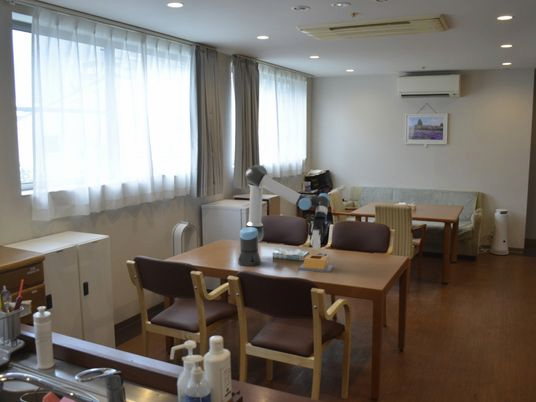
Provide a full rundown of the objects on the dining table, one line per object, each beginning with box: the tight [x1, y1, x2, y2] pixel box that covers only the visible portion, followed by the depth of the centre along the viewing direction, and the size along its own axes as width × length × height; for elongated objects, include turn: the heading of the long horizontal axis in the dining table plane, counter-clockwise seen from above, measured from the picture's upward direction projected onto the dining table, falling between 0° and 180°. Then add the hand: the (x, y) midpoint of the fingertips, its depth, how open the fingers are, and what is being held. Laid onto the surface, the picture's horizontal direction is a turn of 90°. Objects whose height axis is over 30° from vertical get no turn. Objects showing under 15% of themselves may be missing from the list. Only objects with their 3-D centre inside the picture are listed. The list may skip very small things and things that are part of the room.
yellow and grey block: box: [297, 254, 335, 273], centre depth 320 cm, size 20×12×8 cm, turn 71°
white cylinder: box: [312, 228, 321, 250], centre depth 318 cm, size 4×4×12 cm
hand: (315, 244), depth 315 cm, fingers closed on white cylinder, 4 cm apart
